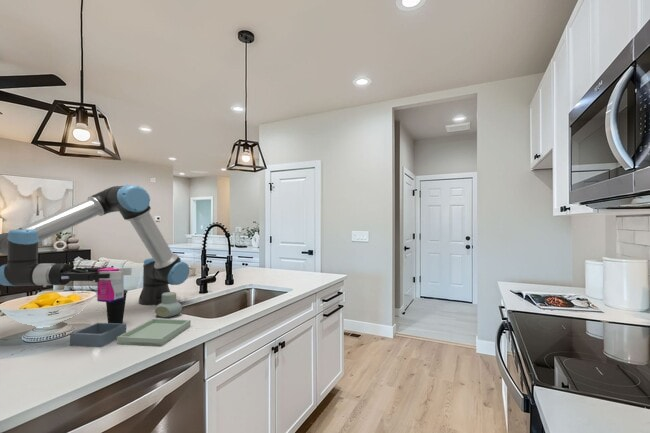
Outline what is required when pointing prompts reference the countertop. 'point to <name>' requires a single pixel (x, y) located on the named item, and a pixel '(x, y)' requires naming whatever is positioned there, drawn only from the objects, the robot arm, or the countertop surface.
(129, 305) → the countertop surface
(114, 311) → the drinking cup
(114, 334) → the grey storage bin
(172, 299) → the grey knobbed rounded piece
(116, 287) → the supplement box
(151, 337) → the tray
